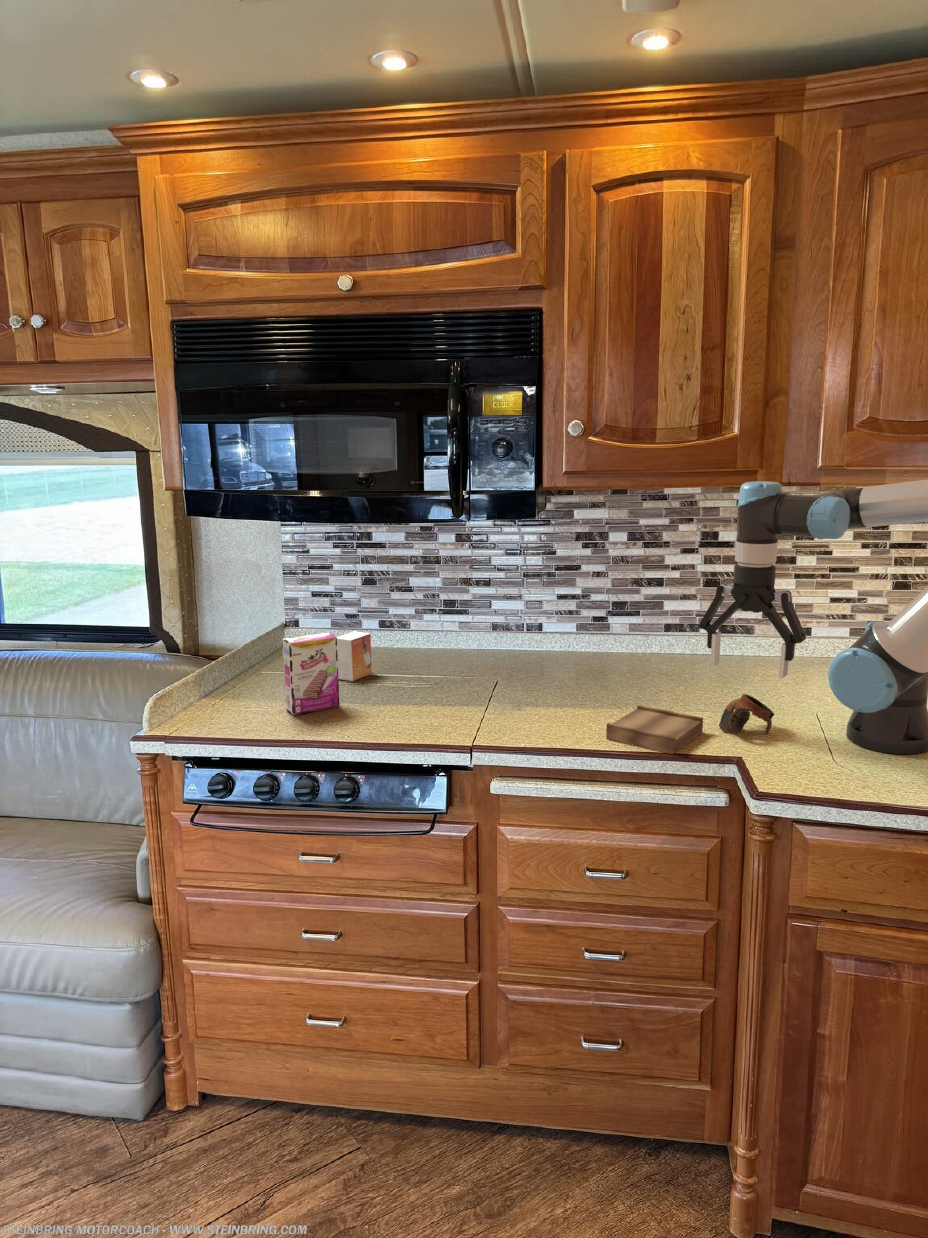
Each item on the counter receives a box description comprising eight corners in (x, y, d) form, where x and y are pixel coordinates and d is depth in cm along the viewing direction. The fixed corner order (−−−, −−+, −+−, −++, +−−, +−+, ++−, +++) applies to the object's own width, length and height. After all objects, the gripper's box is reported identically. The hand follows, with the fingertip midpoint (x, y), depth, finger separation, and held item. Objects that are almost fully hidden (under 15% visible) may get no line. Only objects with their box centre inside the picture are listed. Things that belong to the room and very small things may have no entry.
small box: (352, 682, 212) (350, 640, 210) (335, 679, 215) (332, 637, 213) (372, 673, 219) (371, 633, 217) (355, 670, 222) (353, 630, 220)
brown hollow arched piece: (721, 721, 182) (743, 689, 180) (760, 749, 178) (783, 716, 176) (706, 724, 172) (729, 690, 170) (746, 754, 168) (771, 719, 166)
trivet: (702, 732, 175) (703, 717, 174) (672, 754, 164) (673, 738, 163) (638, 719, 183) (638, 705, 182) (606, 739, 172) (606, 724, 171)
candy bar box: (293, 716, 189) (288, 643, 185) (285, 710, 193) (280, 638, 189) (341, 707, 194) (337, 635, 191) (332, 701, 198) (328, 631, 195)
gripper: (828, 567, 162) (819, 676, 167) (700, 555, 177) (695, 655, 182) (817, 573, 156) (807, 686, 161) (685, 560, 171) (680, 664, 176)
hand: (748, 670), depth 172 cm, fingers open, 13 cm apart
